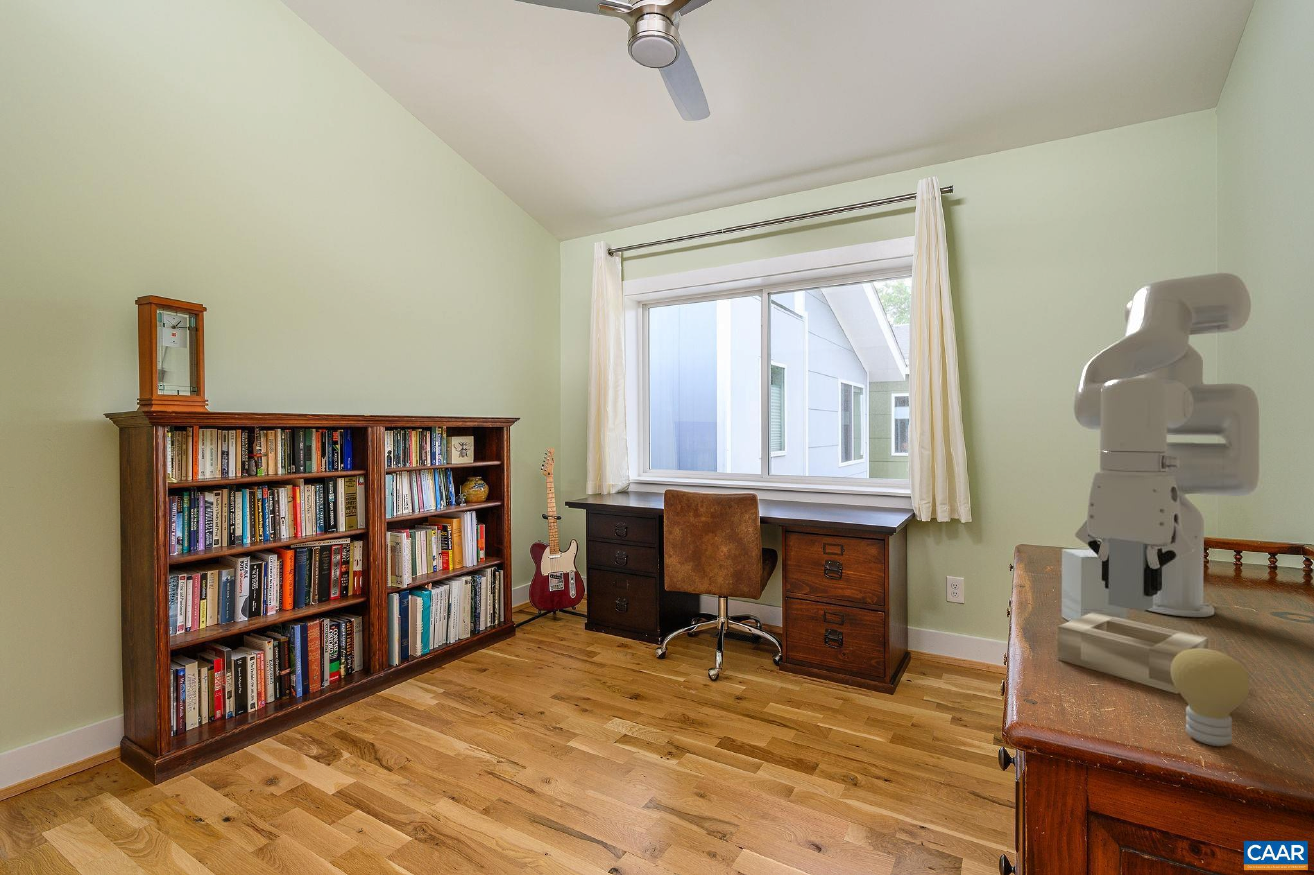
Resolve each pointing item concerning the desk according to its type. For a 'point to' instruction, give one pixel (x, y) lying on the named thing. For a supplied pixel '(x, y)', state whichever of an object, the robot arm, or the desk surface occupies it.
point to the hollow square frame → (1125, 648)
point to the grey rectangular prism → (1127, 575)
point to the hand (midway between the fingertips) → (1130, 589)
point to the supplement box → (1085, 586)
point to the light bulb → (1209, 692)
